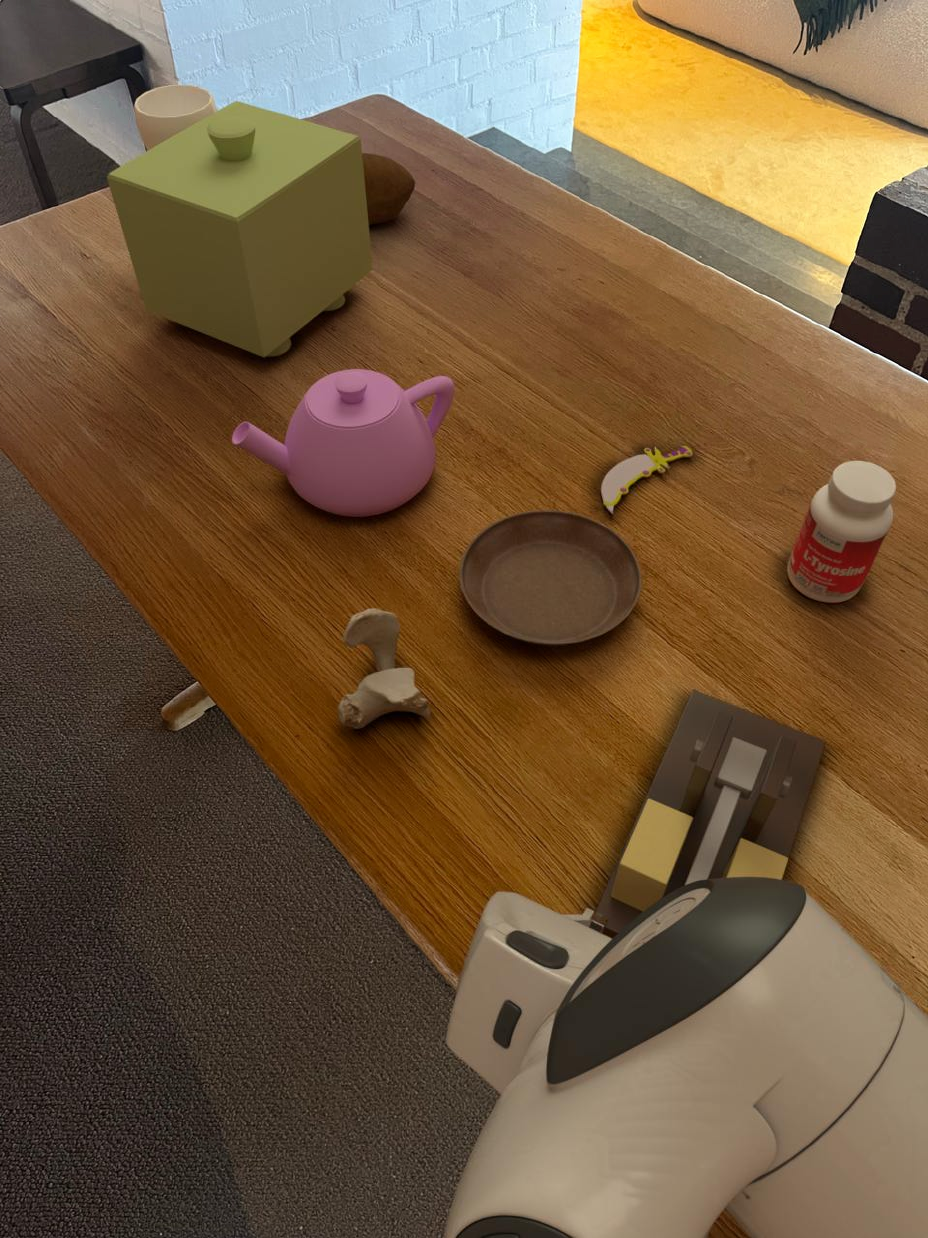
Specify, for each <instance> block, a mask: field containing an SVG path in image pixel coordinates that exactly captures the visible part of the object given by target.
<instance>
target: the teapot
mask: <svg viewBox="0 0 928 1238" xmlns="http://www.w3.org/2000/svg"><path fill="white" fill-rule="evenodd" d="M433 395H435V396H434V401H433V405H432V407H431V410H430V413H429V415H428V417H427V419H426V418H425V415H424V414H423V412H422V411H421V409H420V407H419V406H418V405H417V404H416V403H418V402H420V401H421V400H423V399H425V398H428V397H430V396H433ZM454 397H455V384H454V381H453V380H452V378H450V377H449V376H446V375H438V376H435V377H431V378H428V379H426V380H424V381H422V382H420V383H417V384H415V385H413V386H411V387H410V388H407V389H406V390H404V389H403V388H402V387H401V386H400V385H399V384H398V383H397V382H395V381H394V380H393V379H392V378H390V377H389V376H387V375H385V374H383V373H381V372H378V371H374V370H370V369H363V368H351V369H343V370H338V371H335V372H332V373H329V374H327V375H325V376H323V377H322V378H320V379H319V380H317V381H315V382H314V383H313V384H312V385H311V386H310V388H309V389H308V390H307V392H306V393H305V394H304V396H303V397H302V399H301V400H300V401H299V404H298V405H297V407H296V408H295V410H294V412H293V414H292V417H291V418H290V421H289V423H288V426H287V429H286V433H285V439H284V444H283V443H281V442H280V441H278V440H277V439H275V438H274V437H273V436H271V435H269V434H267V433H266V432H264V431H263V430H262V429H260V428H258V427H257V426H255V425H253V423H250V422H249V421H246V420H245V421H242V422H241V423H240V424H239V425H237V426H236V428H235V430H234V431H233V433H232V437H231V442H232V444H233V445H235V446H237V447H239V448H240V449H242V450H243V451H245V452H247V453H248V454H250V455H252V456H253V457H256V458H257V459H259V460H260V461H262V462H263V463H266V464H267V465H269V466H270V467H272V468H274V469H275V470H277V471H279V472H281V473H282V474H284V475H285V476H286V478H287V479H288V480H287V481H288V482H289V484H290V486H291V487H292V488H293V489H294V491H295V492H296V493H297V494H298V496H299V497H300V498H302V499H303V500H305V501H306V503H309V504H311V505H312V506H314V507H316V508H318V509H320V510H322V511H325V512H328V513H330V514H333V515H336V516H342V517H350V518H363V517H364V518H365V517H372V516H373V517H374V516H378V515H382V514H386V513H388V512H390V511H393V510H395V509H396V508H397V509H398V507H401V506H402V505H404V504H406V503H407V502H408V501H410V500H411V499H413V498H414V497H415V496H416V495H417V494H418V493H420V492H421V491H422V490H423V488H424V487H425V486H426V485H427V484H428V482H429V480H430V479H431V478H432V477H431V476H432V475H433V472H434V469H435V465H436V461H437V460H436V457H437V455H436V447H435V441H434V438H435V435H436V434H437V432H438V430H439V428H440V427H441V425H442V423H443V422H444V420H445V418H446V416H447V414H448V412H449V410H450V408H451V406H452V404H453V400H454Z"/></svg>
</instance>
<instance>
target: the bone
mask: <svg viewBox="0 0 928 1238" xmlns="http://www.w3.org/2000/svg"><path fill="white" fill-rule="evenodd" d="M401 631H402V629H401V626H400V622H399V620H398V616H397V615H396V614H395V613H393V612H390V611H384V610H382V609H380V608H368V609H365V610H364V611H360V612H357V613H355V614H353V615H352V616H351V617H350V619H349V622H348V624H347V626H346V628H345V629H344V633H343V635H342V640H343V642H344V644H345V645H347V646H348V648H351V649H352V648H355V647H358V646H359V645H365V646H367V647H368V649H369V650H370V651H371V654H372V656H373V661H374V664H375V669H376V672H373V673H371V674H369V675H366V676H365V677H364V678H362V680H361V681H360V682H359V684H358V685H357V688H356V690H355V692H353V693H348V694H345V695H344V696H342V699H341V700H340V702H339V704H338V705H337V712H338V719H339V721H340V723H341V724H342V725H343V726H345V727H350V728H353V729H357V730H359V729H363V728H364V727H366V726H367V725H369V724H370V723H372V722H373V721H374V720H377V719H378V718H379V717H381V716H384V715H386V714H389V713H391V712H411V713H414V714H416V715H418V716H422V717H424V718H426V719H430V718H431V717H430V716H431V711H430V709H429V708H428V706H429V701H428V699H427V698H423V697H422V693H421V691H420V690H419V688H417V687H416V686H415V685H416V684H415V670H413V669H412V668H411V667H396V654H397V651H398V641H399V637H400V633H401Z"/></svg>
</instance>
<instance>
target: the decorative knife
mask: <svg viewBox="0 0 928 1238" xmlns="http://www.w3.org/2000/svg"><path fill="white" fill-rule="evenodd" d="M679 447H681V448H679V450H675V451H672V452H670V453H667V454H666V455H665V454H664V455H663V454H662V453H661V451H660V450H659V448H657V447H656V446H654V450H653V451H654V454H653V453H652V449H651V448H649V447H645V448H644V449H643V453H644V454H643V453H642V454H637V455H634V456H632V457H629V458H626V459H624V460H623V461H620V462H619V463H617V464H615V466H613V467H612V468H611V469H610V470H609V471H608V472H607V473H606V475H605V476H604V478H603V480H602V482H601V485H600V492H601V497H602V502H603V503H602V506H604V507H606V509H607V510H608V512H609V513H611V514H612V515H613V514H614V508H615V506H617V504H618V503H619V502H620V500H621V498H622V496H625V495H627V494H629V489H630V487H631V486H632V485H634V484H635V483H636V482H637V481H638V480H640V479H642V478H649V477H651V476H652V473H654V472H656V471H657V472H658V474H665V473H666V469H667V470H669V469H671V466H669V463H670V462H673V461H675V460H678V459H682V458H691V457H693V451H692V449H691V447H689V446H687V445H679ZM668 462H669V463H668Z"/></svg>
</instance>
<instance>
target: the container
mask: <svg viewBox="0 0 928 1238" xmlns="http://www.w3.org/2000/svg"><path fill="white" fill-rule="evenodd" d="M361 139H362V138H360V137H359V135H357V134H354V133H353V134H352V133H349V132H345V131H342V130H339V129H335V128H332V127H328V126H325V125H322V124H318V123H314V122H311V121H308V120H304V119H301V118H299V117H295V116H291V115H287V114H284V113H281V112H277V111H274V110H270V109H266V108H262V107H259V106H255V105H253V104H248V103H246V102H243V101H242V102H241V101H238V100H235V101H233V102H231V103H229V104H228V105H226V106H224V107H222V108H220V109H217V112H215V113H213V114H211V115H209V116H208V117H206V118H204V119H202V120H201V121H199V122H197V123H195V124H194V125H192V126H190V127H188V128H186V129H185V130H183V131H181V132H179V133H178V134H176V135H174V136H172V137H171V138H169V139H167V140H165V141H164V142H162V143H160V144H159V145H157V146H155V147H153V148H152V149H150V150H148V151H147V150H146V151H144V152H143V153H141V154H139V155H138V156H136V157H134V158H133V159H131V160H130V161H128V162H126V163H124V164H122V165H120V166H119V167H117V168H115V169H114V170H112V171H111V172H109V173H108V174H107V176H106V179H107V182H108V186H109V189H110V193H111V196H112V200H113V204H114V206H115V209H116V214H117V217H118V220H119V223H120V228H121V230H122V234H123V237H124V240H125V244H126V247H127V250H128V254H129V257H130V260H131V264H132V267H133V270H134V274H135V277H136V280H137V284H138V287H139V290H140V294H141V297H142V300H143V303H144V307H145V310H146V311H147V312H149V313H152V314H154V315H156V316H159V317H162V318H165V319H167V320H169V321H172V322H174V323H177V324H179V325H181V326H184V327H187V328H189V329H192V330H194V331H197V332H199V333H201V334H204V335H207V336H209V337H212V338H214V339H216V340H219V341H222V342H224V343H226V344H229V345H232V346H234V347H237V348H239V349H242V350H244V351H247V352H249V353H251V354H254V355H256V356H259V357H261V358H266V357H278V356H281V355H283V354H285V353H286V352H288V351H289V350H290V348H291V347H292V341H291V337H292V336H293V335H295V334H296V333H297V332H299V330H301V329H302V328H304V326H306V325H307V324H308V323H310V322H311V321H312V320H313V319H314V318H316V317H317V316H318V315H319V314H321V313H322V312H331V311H334V310H338V309H340V308H341V307H342V306H344V305H345V302H346V298H345V296H344V294H345V293H347V292H348V291H349V290H350V289H351V288H353V287H354V286H355V285H356V284H357V283H359V281H361V280H362V279H364V278H365V277H366V276H367V275H369V273H370V272H372V271H373V259H372V246H371V236H370V225H369V223H368V212H367V201H366V191H365V180H364V169H363V159H362V153H363V150H362V149H363V148H362V140H361Z"/></svg>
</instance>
